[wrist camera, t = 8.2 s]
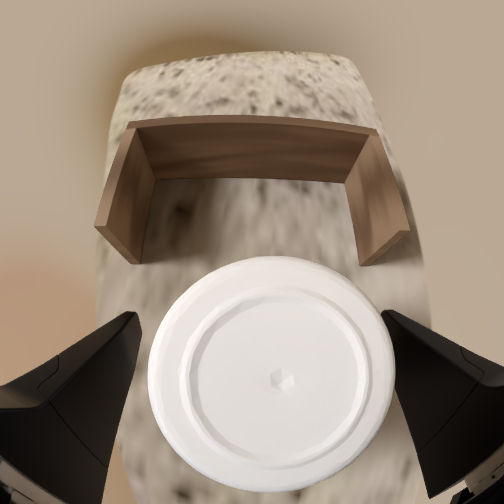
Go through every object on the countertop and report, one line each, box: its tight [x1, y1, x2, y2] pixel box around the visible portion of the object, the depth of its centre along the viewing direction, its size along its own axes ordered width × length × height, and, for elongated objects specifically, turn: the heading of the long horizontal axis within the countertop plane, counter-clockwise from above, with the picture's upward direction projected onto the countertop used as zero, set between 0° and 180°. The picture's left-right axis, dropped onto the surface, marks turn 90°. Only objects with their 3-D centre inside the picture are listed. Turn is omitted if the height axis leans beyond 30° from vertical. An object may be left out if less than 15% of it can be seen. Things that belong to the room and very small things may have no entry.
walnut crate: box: [94, 115, 410, 266], centre depth 18 cm, size 8×18×6 cm, turn 90°
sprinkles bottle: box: [148, 256, 395, 493], centre depth 10 cm, size 5×5×14 cm
